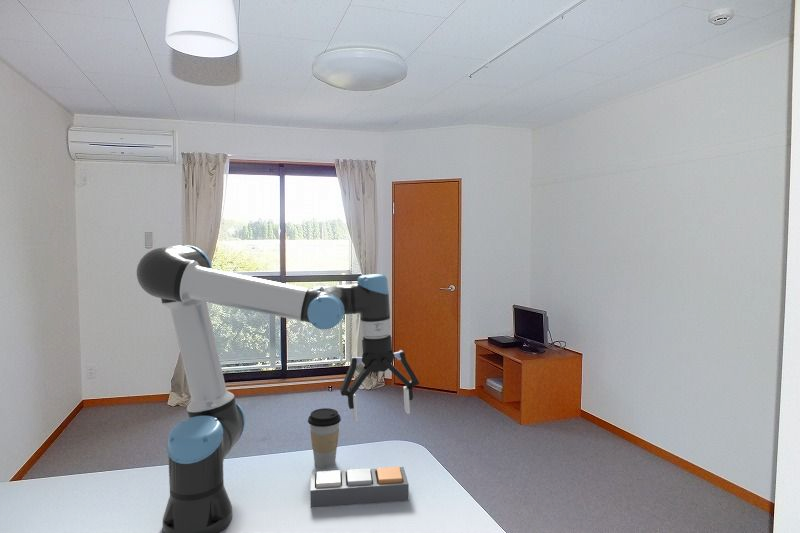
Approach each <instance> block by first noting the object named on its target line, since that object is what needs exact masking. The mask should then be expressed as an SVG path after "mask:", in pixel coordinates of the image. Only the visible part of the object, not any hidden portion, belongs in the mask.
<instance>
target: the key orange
mask: <svg viewBox="0 0 800 533" xmlns="http://www.w3.org/2000/svg"><path fill="white" fill-rule="evenodd" d="M399 467H400V466H388V467H387V466H386V467H385V466H384V467H376V469H377V480H378V484H385V483H400V482H402V475H401V471H400V468H399Z"/></svg>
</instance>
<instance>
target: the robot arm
mask: <svg viewBox="0 0 800 533" xmlns="http://www.w3.org/2000/svg"><path fill="white" fill-rule="evenodd" d="M212 266H213V265H212V262H211V260H210V258H209V256H208V255H207V254H206V252H205V251H203V250H202V249H200V248H199V247H196V246H194V245H189V244H177V245H172V246H167V247H165V246H164V247H157V248H154V249H151V250H150V251H148V252H146V253H145V254H144V255H143V257H141V258H140V260H139V262H138V264H137V267H136V279H137V282H138V284H139V286H140V288H141V289H142V290H143V291H145V292H146V293H147V294H148V295H150V296H152V297H155V298H159V299H161V304H162V305H163V306H165V307H167V308H168V309H169V310H170V313H171V317H172V322H173V325H174V331H175V334H176V339H177V344H178V348H179V351H180V355H181V360H182V365H183V369H184V373H185V378H186V381H187V387H188V391H189V394H190V402H189V403H188V405H187V407H186V412H187V415H188V416H187V417H188V418H187V419H186V420H181V421H180V422H178V423H177V424H175V425H174V426H173V427H172V428H171V430H170V431H169V433H168V438H167V439H168V440H167V446H166V447H167V457H168V458H167V460H168V462H167V463H168V477H169V479H168V480H169V482H168V483H169V497H168V501H167V504H166V507H165V509H164V513H163V517H162V533H221V532H222V531H223V530H224V529H226V528H227V527H228V526H229V524H230V523H231V522H232V519H233V505H232V502H231V500H230V498H229V495H228V492H227V490H226V488H225V483H224V460H225V458H226V457H227V456H228V454H229V453H230V451H231V450H232V448H233V447H234V446H235V445H236V444H237V442H238V441H239V440H240V439H241V437H242V435H243V432H244V429H245V426H246V414H245V412H244V409H243V408H242V406H241V405H240V404H238V403H237V402H236V399H235V398H236V397H235V394H233V392H230V391H229V390H227V387H226V383H225V382H226V381H225V378H224V374H223V369H222V365H221V361H220V359H221V358H220V356H219V350H218V346H217V343H216V342H217V341H216V339H215V338H216V337H215V333H214V329H213V324H212V320H211V315H210V310H209V307H208V304H209V303H210V304H215V305H219V306H225V307H229V308H233V309H234V308H235V309H238V310H239V309H240V310H243V311H244V310H246V311H249V312H255V313H259V314H266V315H270V316H274V317H279V318H284V319H290V320H296V321H301V322H304V323H307V324H308V323H309V324H311V325H312V326H313V327H314V328H317V329H319V330H324V331H326V330H331V329H333V328H334V327H336V326H337V325H338V324H340V323H341V321H342V319H343V317H344V316H345V315H356V314H359V315H360V317H359V318H360V319H359V320H360V327H361V328H360V330H361V333H360V334H361V336H363V337H362V338H361V346H362V348H361V349H362V354H361V356H355V355H351V356H350V364H349V367H348V369H347V372H346V375H345V377H344V379H343V382H342V384H341V386H340V389H339V392H340V394H341V396H343V397H344V396H346V397H347V406H348V408H349V409H350V410H352V416H353V420H354V422H355V423H359V417H358V414H359V413H358V404H357V403H358V402H357V395H356V392H357V390H358V389H359V388H360V387H361V385H362V384H363V382H364V381H365V380H366V378H367V377H368V376H369V375H370V374H371V373H373V374H375V373H379V372H380V373H381V372H386V371H387V370H389V371H390V372H392V373H393V375H394V376H395V377H397V378H398V380H400V381H401V382H402V383H403V384H404V385H405V386H402V387H403V404H404V411H405V413H406V415H410V414H411V410H410V408H411V407H410V406H411V405H410V401H412V400H413V398H414V395H413V393H414V392H413V389H414V387H415V386H419V385H420V381H419V379H418V378H417V376H416V375H415V373H414V371H413V369H412V368H411V366H410V364H409V363H408V361H407V357H406V354H405V352H404V351H403V350H402V349H399V350H398V351H396V352H394V351H393V342H392V335H391V333H392V328H391V312H390V311H391V310H390V293H389V292H390V291H389V284H388V279H387V277H386V275H384V274H382V273H381V274H380V273H374V274H373V273H371V274H363V275H360V276H358V278H357V282H356V283H353V284H334V285H333V284H332V285H320V286H319V285H318V286H313V287H312V288H308V287H304V286H303V287H302V286H298V285H293V284H290V283H289V284H288V283H282V282H279V281H273V280H270V279H269V280H268V279H264V278H258V277H254V276H250V275H249V276H248V275H244V274H243V275H242V274H239V273H235V272H234V273H233V272H230V271H229V272H228V271H224V270H219V269H214V268H212ZM395 358H396V359H397V360H398V361H400V363H401V365H402V366H403V369H404V370H405V371H406V373H407V375H408V377H409V378H410V380H408V379H407V378H406V377H405V376H404V374H402V372H400V370H399V369H397V368H396V367H395V366H394V364H392V363H393V362H394V360H395ZM360 363H362V364H363V365H364V366H363V367H362V369H361V371H360V372H359V374H357V377H356V378H355V380H354V381H353V382H352V380H353V378H354V375H355V373H356V370H357V367H358V366H359V365H360ZM351 382H352V383H351ZM350 384H351V385H350ZM349 386H350V387H349Z"/></svg>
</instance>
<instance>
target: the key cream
mask: <svg viewBox="0 0 800 533" xmlns="http://www.w3.org/2000/svg"><path fill="white" fill-rule="evenodd" d="M340 471H341V469H337V470H319V471H316V472H317V480H316V488H323V487H338V486H341V479H340Z"/></svg>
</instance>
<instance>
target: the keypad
mask: <svg viewBox="0 0 800 533" xmlns="http://www.w3.org/2000/svg"><path fill="white" fill-rule="evenodd" d="M398 467H399V468H400V471H401V475H402V482H400V483H385V484H378V480H377V468H370V472H371V479H372V484H369V485H354V486H348V484H347V470H348V469H347V470H340V479H341V486H338V487H323V488H316V480H317V471H316V472H314V471H313V472H311V477H310V478H311V480H310V491H309V492H310V494H309V495H310V500H309V501H310V509H313V508H314V509H315V508H326V507H342V506H355V505H357V506H358V505H370V504H383V503H385V504H386V503H399V502H409V490H410V487H409V485H410V484H409V481H408V478H407V474H406V471H405V467H404V466H398Z"/></svg>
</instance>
